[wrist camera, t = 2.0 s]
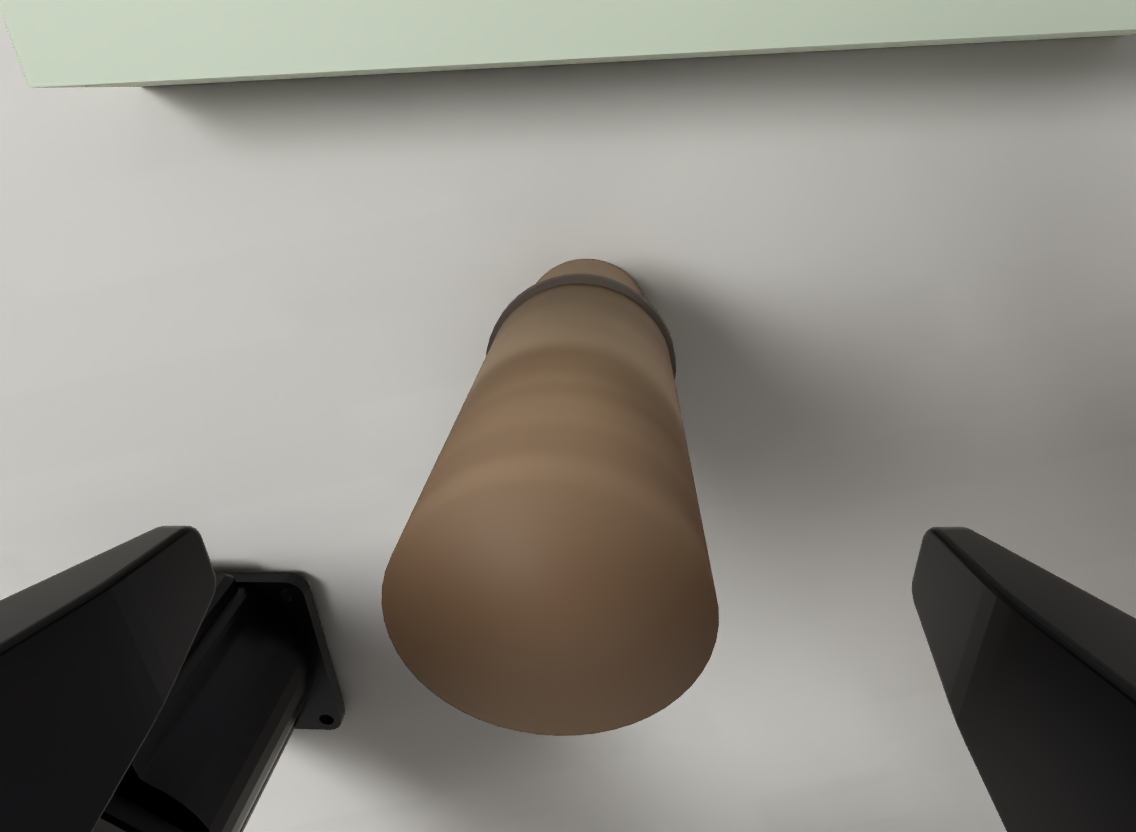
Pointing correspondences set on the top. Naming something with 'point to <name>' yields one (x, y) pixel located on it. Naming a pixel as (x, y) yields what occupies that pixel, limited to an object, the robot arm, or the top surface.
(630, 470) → the peg
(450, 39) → the board
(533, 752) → the top surface
